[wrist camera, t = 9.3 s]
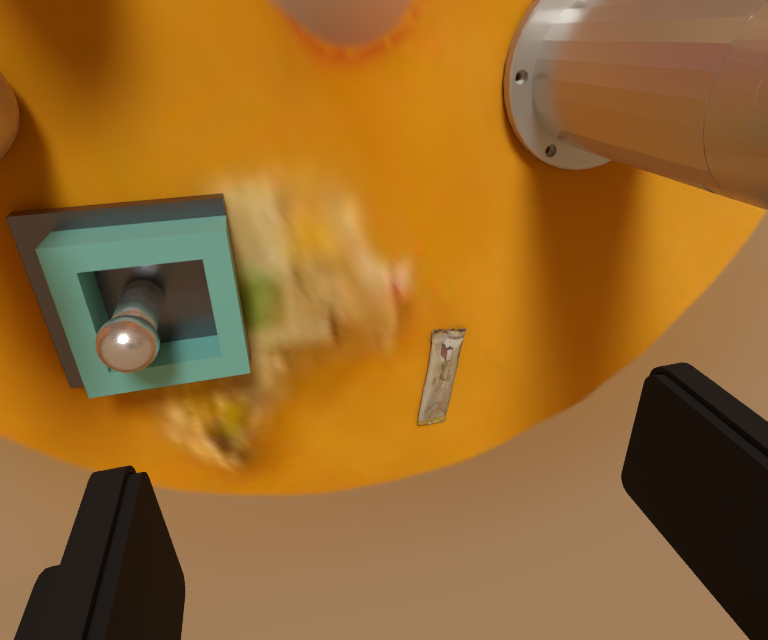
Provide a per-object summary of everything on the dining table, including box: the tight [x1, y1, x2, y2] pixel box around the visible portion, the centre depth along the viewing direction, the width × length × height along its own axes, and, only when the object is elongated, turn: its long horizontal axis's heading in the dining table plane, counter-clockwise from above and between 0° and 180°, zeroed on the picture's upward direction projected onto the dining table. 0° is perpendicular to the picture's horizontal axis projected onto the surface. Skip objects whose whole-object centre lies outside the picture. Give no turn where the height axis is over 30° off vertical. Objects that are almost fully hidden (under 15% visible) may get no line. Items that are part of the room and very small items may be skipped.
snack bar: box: [418, 329, 466, 425], centre depth 45 cm, size 10×2×3 cm
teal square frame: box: [35, 215, 250, 398], centre depth 33 cm, size 10×10×3 cm
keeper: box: [6, 194, 251, 388], centre depth 31 cm, size 12×12×9 cm
